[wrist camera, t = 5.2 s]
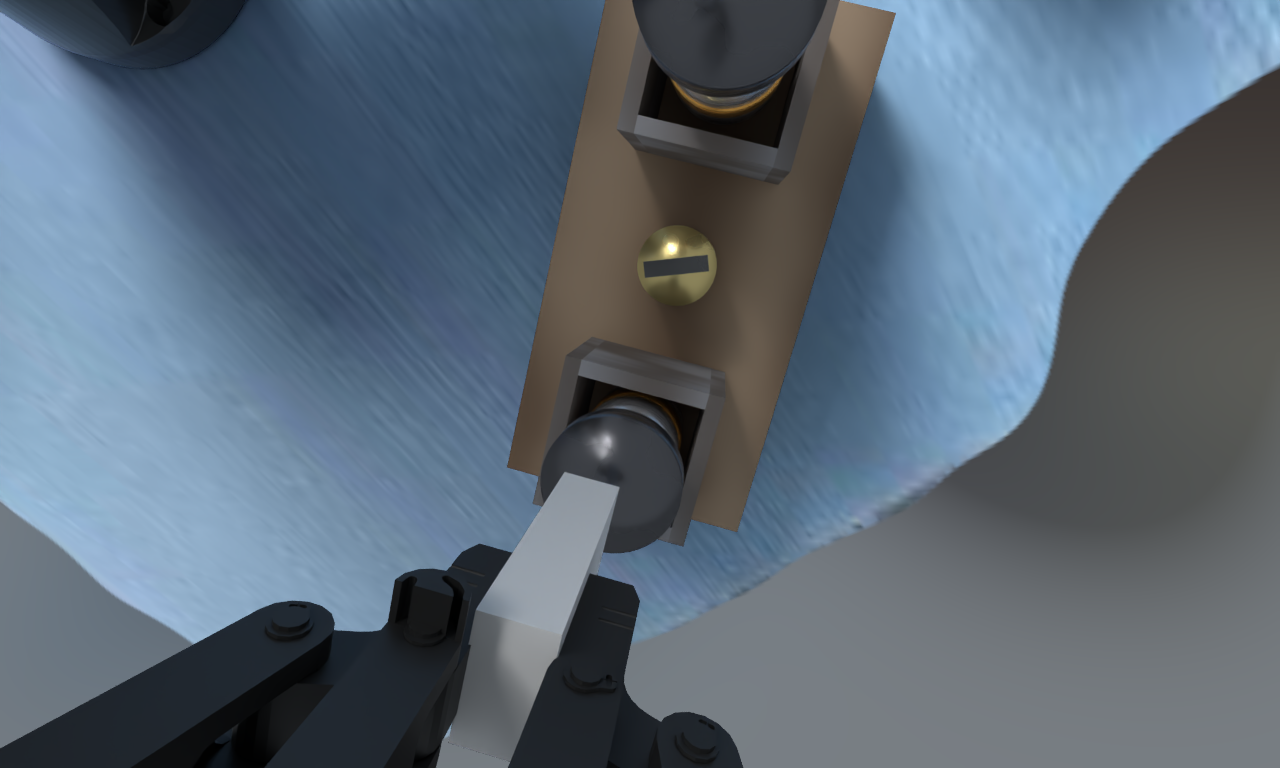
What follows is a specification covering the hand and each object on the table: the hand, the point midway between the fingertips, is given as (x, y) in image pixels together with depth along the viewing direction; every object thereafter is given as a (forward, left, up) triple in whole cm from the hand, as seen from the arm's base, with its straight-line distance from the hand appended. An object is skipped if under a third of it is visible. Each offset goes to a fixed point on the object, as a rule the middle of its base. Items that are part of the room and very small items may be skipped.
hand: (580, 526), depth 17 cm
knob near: (0, +14, -9) cm, 16 cm away
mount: (0, +7, -18) cm, 20 cm away
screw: (0, +7, -12) cm, 14 cm away
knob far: (0, 0, -11) cm, 11 cm away
